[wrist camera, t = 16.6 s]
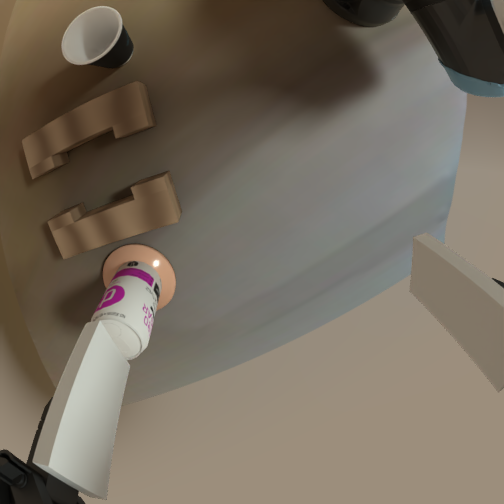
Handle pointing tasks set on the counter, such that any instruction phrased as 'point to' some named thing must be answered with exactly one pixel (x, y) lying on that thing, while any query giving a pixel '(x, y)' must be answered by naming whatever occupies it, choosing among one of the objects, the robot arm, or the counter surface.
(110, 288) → the supplement can
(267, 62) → the counter surface
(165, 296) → the peach smooth rounded piece
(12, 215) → the counter surface
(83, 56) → the dixie cup
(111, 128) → the walnut caddy
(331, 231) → the counter surface
